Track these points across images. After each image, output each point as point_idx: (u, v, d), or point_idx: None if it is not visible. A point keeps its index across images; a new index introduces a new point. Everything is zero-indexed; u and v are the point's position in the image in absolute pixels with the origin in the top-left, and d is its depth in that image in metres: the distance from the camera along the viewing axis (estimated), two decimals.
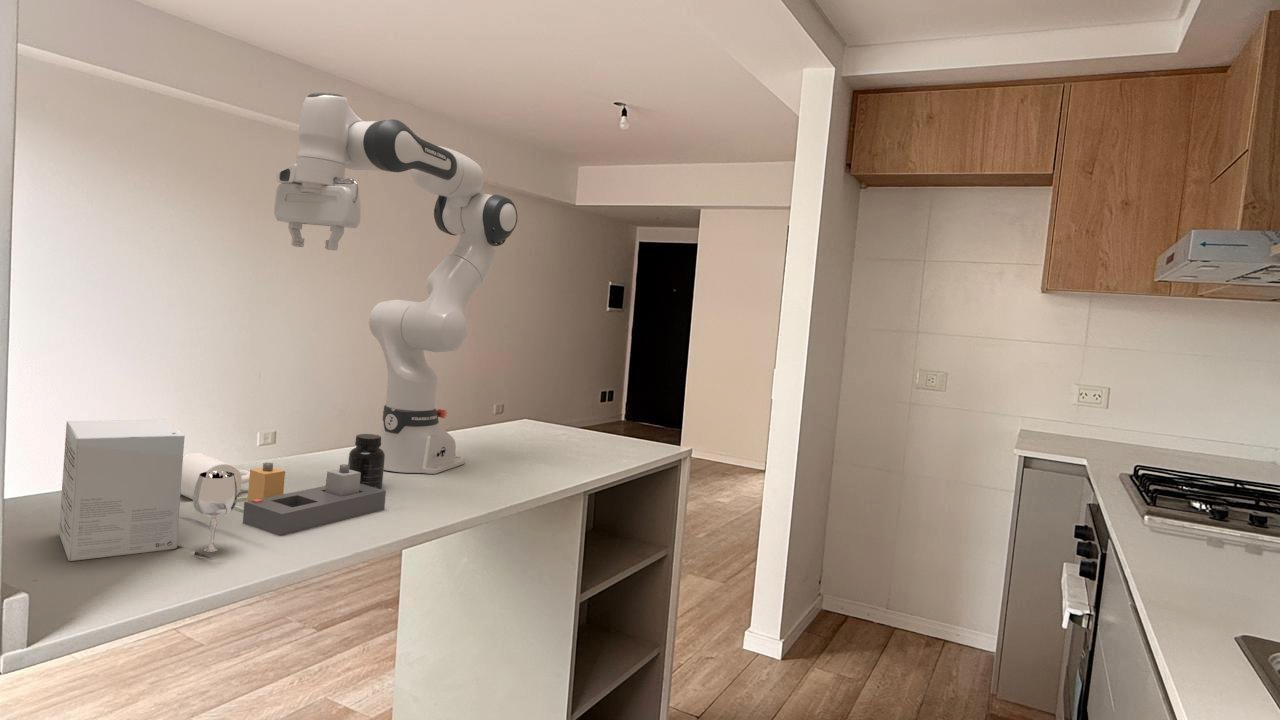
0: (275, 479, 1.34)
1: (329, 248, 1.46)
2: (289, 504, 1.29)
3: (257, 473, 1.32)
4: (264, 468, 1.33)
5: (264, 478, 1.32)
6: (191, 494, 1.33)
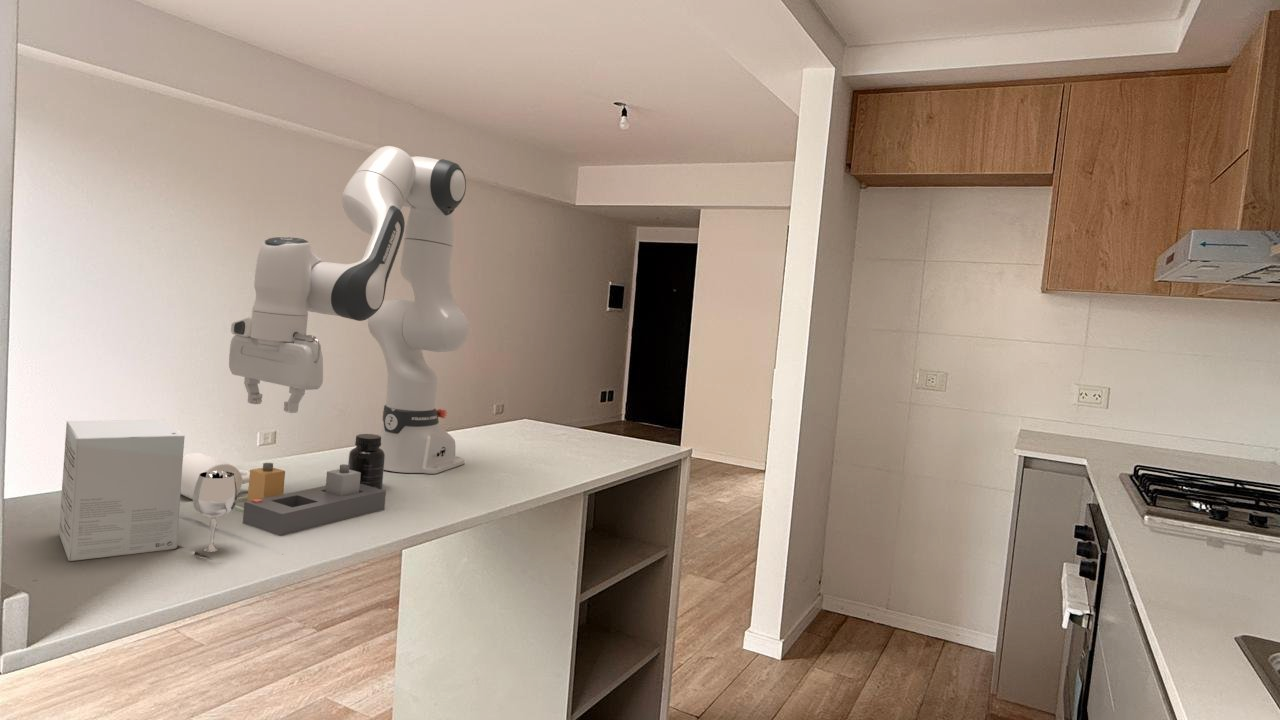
0: (275, 479, 1.34)
1: (288, 411, 1.30)
2: (289, 504, 1.29)
3: (257, 473, 1.32)
4: (264, 468, 1.33)
5: (264, 478, 1.32)
6: (191, 494, 1.33)
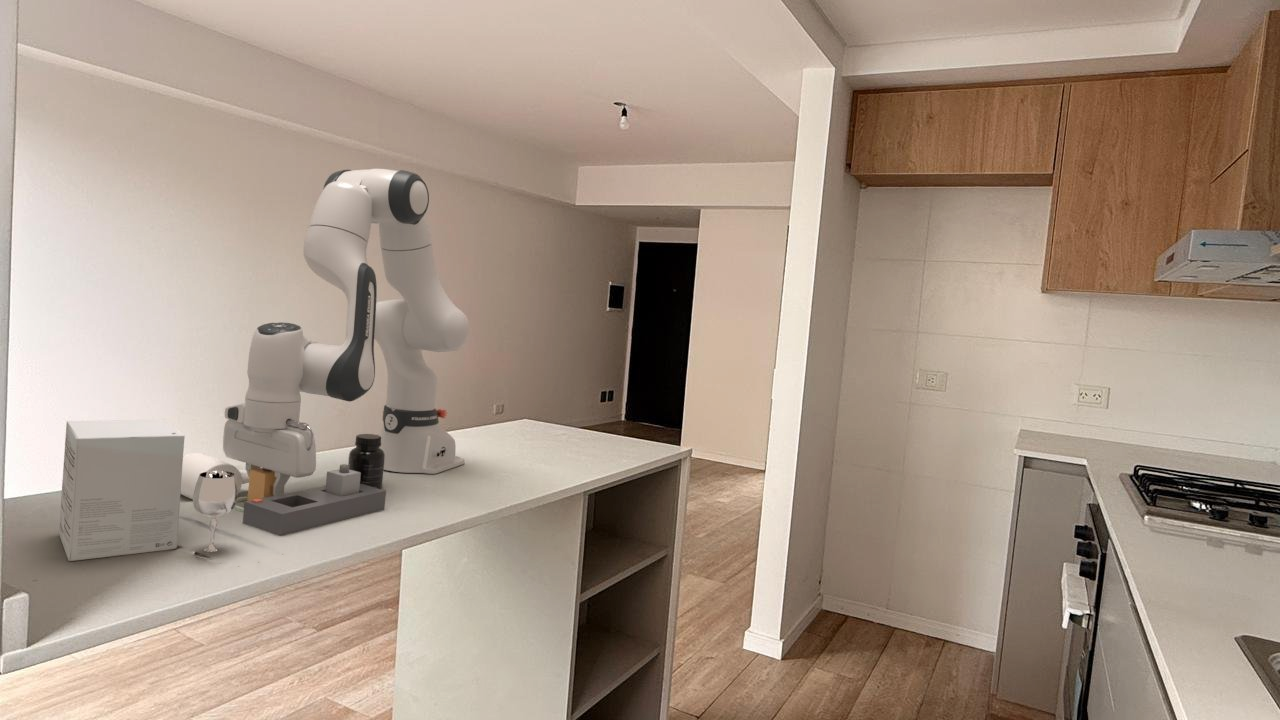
0: (275, 479, 1.34)
1: (274, 495, 1.33)
2: (289, 504, 1.29)
3: (257, 473, 1.32)
4: (264, 468, 1.33)
5: (264, 478, 1.32)
6: (191, 494, 1.33)
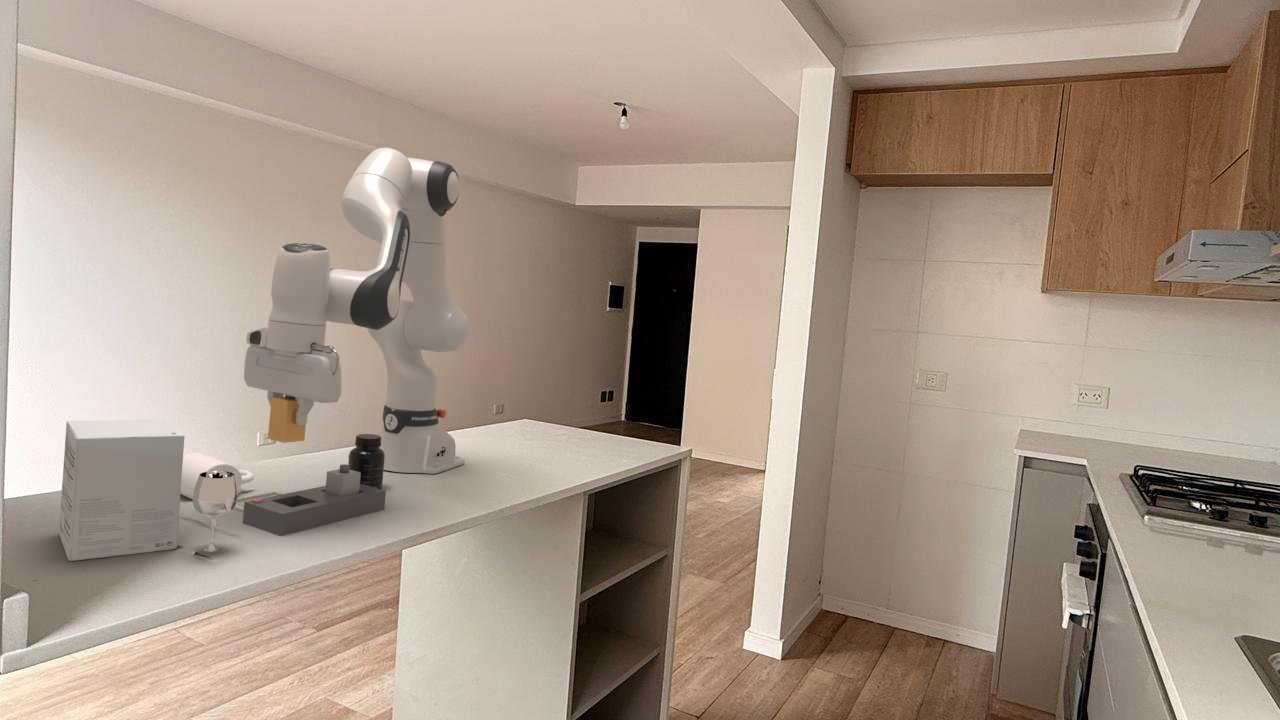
0: (297, 407, 1.27)
1: (296, 423, 1.26)
2: (289, 504, 1.29)
3: (279, 400, 1.26)
4: (286, 396, 1.27)
5: (286, 405, 1.25)
6: (191, 494, 1.33)
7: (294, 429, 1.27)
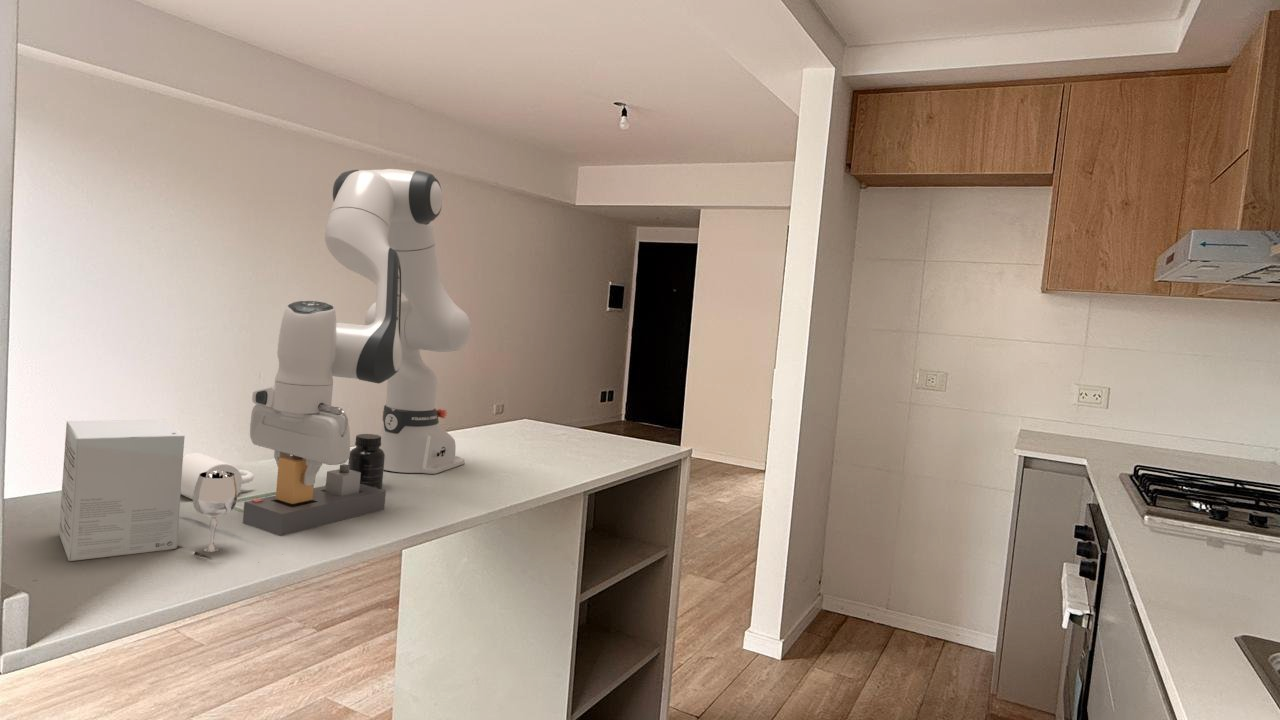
0: (305, 467, 1.26)
1: (305, 484, 1.25)
2: (289, 504, 1.29)
3: (287, 461, 1.25)
4: (294, 456, 1.26)
5: (294, 466, 1.24)
6: (191, 494, 1.33)
7: (302, 490, 1.26)
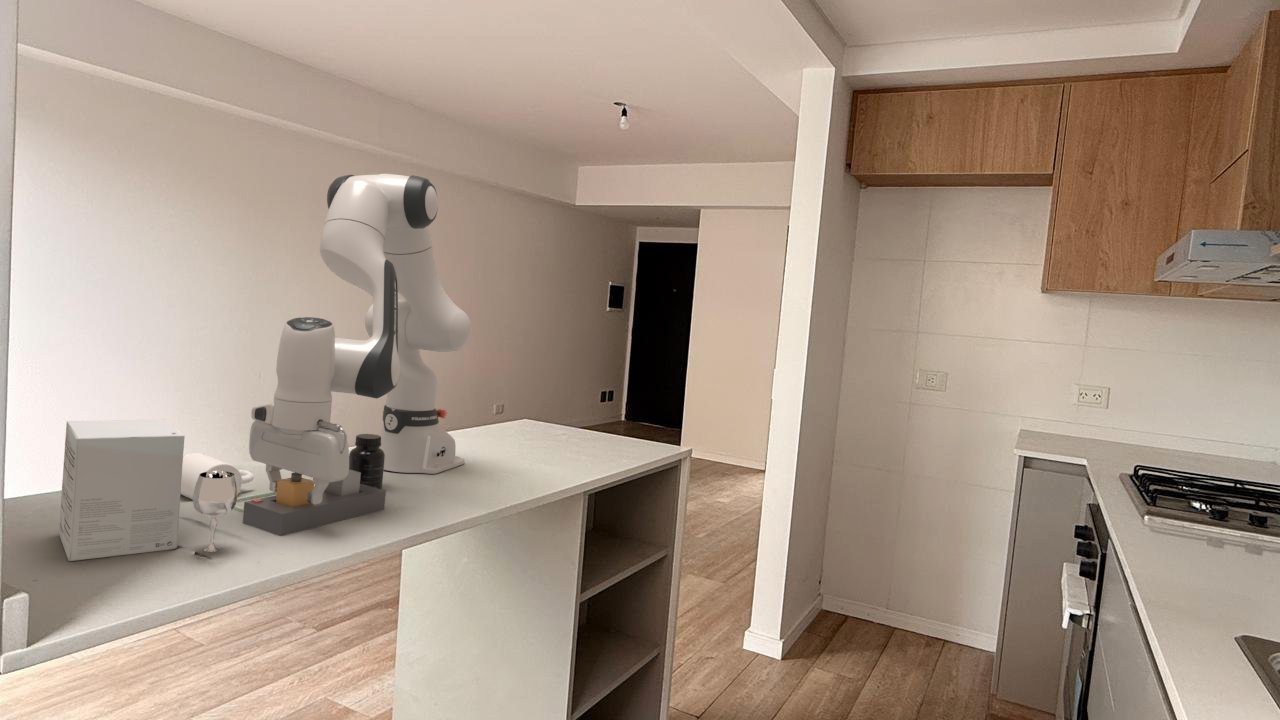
0: (304, 490, 1.26)
1: (312, 503, 1.24)
2: None
3: (285, 484, 1.25)
4: (292, 478, 1.26)
5: (293, 489, 1.24)
6: (191, 494, 1.33)
7: None
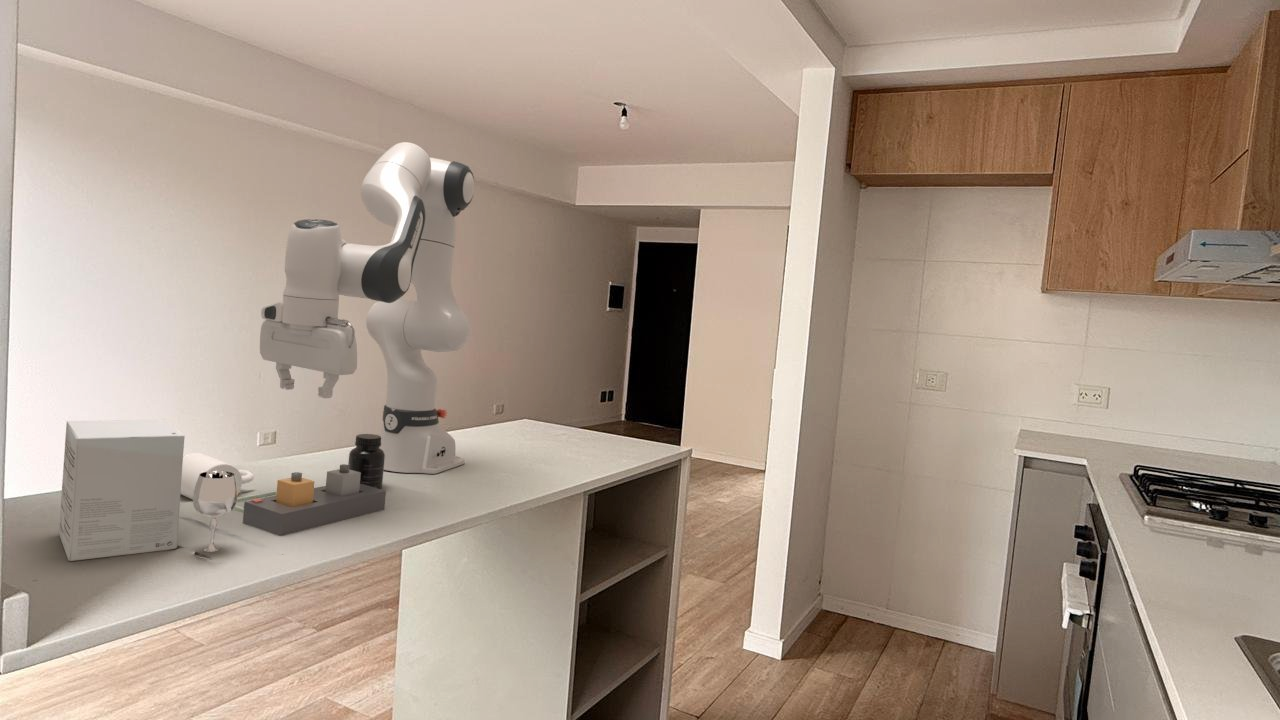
0: (304, 490, 1.26)
1: (323, 397, 1.29)
2: None
3: (285, 484, 1.25)
4: (292, 478, 1.26)
5: (293, 489, 1.24)
6: (191, 494, 1.33)
7: None
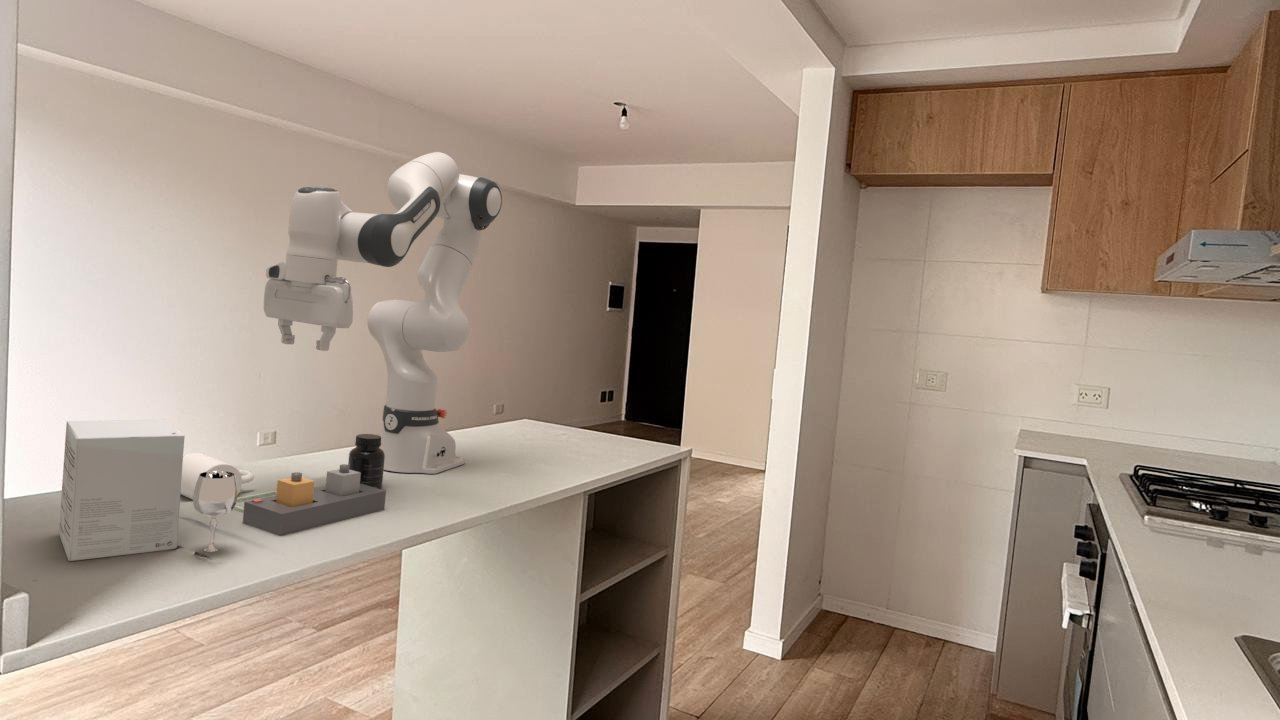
0: (304, 490, 1.26)
1: (320, 349, 1.40)
2: None
3: (285, 484, 1.25)
4: (292, 478, 1.26)
5: (293, 489, 1.24)
6: (191, 494, 1.33)
7: None
